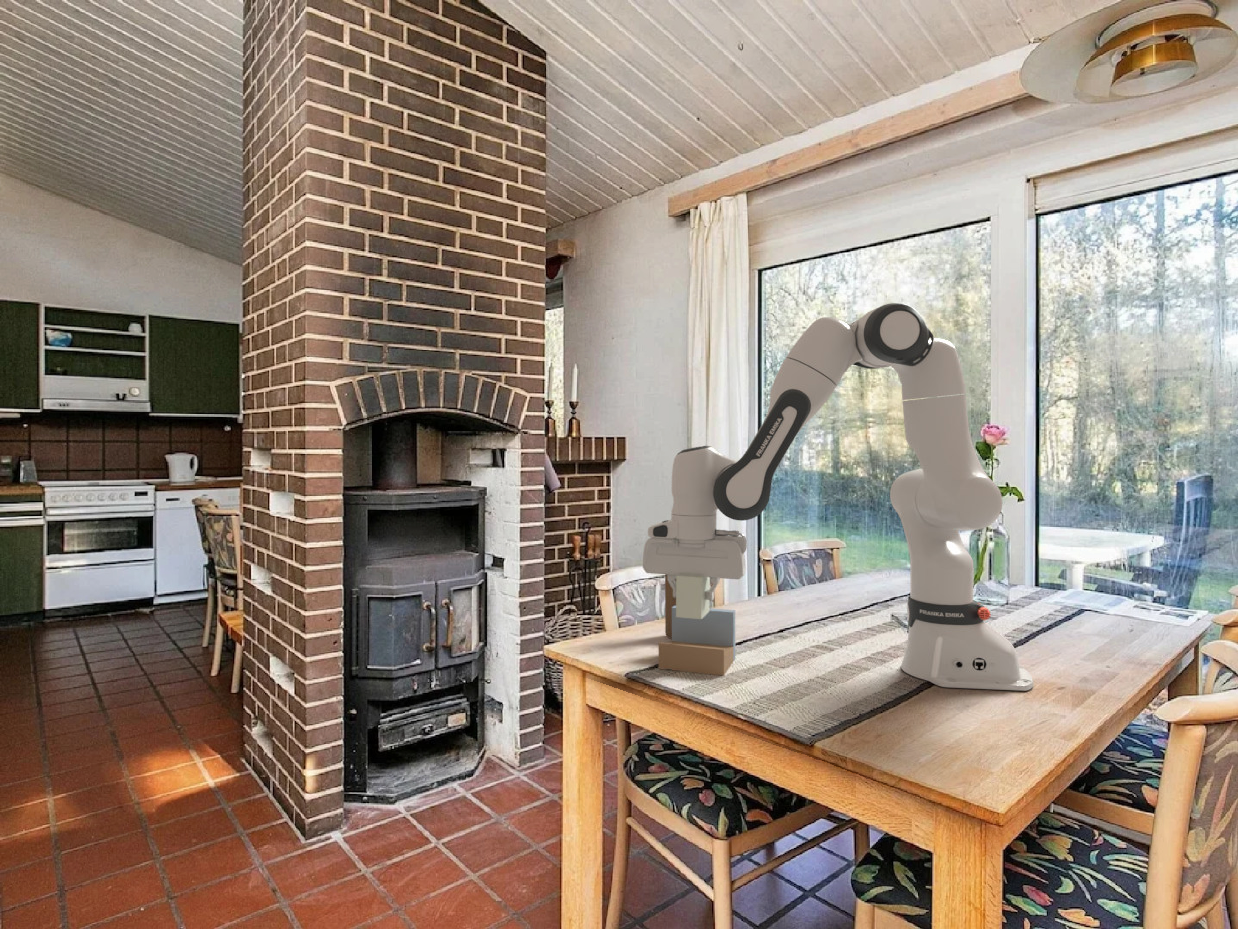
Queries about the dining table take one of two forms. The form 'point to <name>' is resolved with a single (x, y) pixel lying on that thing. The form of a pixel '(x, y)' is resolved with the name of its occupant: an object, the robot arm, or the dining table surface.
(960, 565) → the robot arm
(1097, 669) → the dining table surface
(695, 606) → the cabinet block
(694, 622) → the board
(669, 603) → the wooden block
